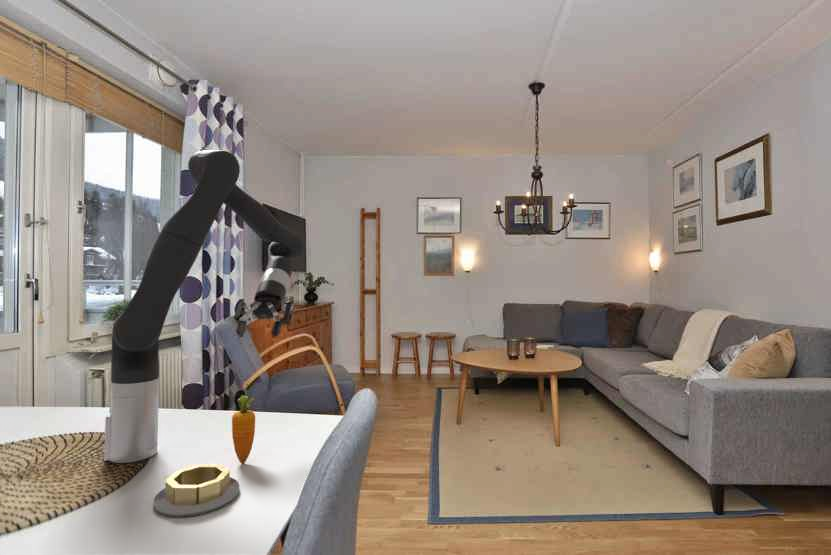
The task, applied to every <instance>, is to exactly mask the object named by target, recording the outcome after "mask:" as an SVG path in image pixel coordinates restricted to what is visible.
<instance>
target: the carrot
mask: <svg viewBox="0 0 831 555" xmlns="http://www.w3.org/2000/svg"><path fill="white" fill-rule="evenodd" d="M248 398H249V397H248V395H243V394H242V395H240V397H239V398H238V399H237V403H238V406H239V409H240V410H239V411H236V412H234V413H233V414H232V415H231V416H232V417H231V434H232V441H233V446H234V452H235V456H236V457H237V460H238V461H239V463H240V464H241V465H244V464H245V463H246V461H247V460H248V458H249V456H250V454H251V451H252V448H253V444H254V438H255V431H256V430H255V429H256V415H255V413H254V411H253V410H250V409H249V407H250V405H251V403H252V402H253V401H254V400H256V399H255V398H254V397H252V398H250V399H249V400H248ZM248 409H249V410H248Z"/></svg>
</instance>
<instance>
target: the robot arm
mask: <svg viewBox="0 0 831 555" xmlns="http://www.w3.org/2000/svg"><path fill="white" fill-rule="evenodd" d="M187 163H188V164H187V165H188V166H187V167H188V172H189V175H190V176H191V178H192V179H193V181H195V183H197V185H196V187H195V189H194V190H193V193H192V194H191V196H190V197H189V198H188V200H186V202H185V203H184V204H183V205H182V206H181V207H180V208H179V209H177V211H175V213H174V214H173V215H172V216H170V218H169V219H168V220H167V221H166V222H165V224H164V225H163V226H162V229H161V231H160V232H159V234H158V236H157V238H156V240H155V242H154V244H153V245H152V248H151V251H150V254H149V256H148V258H147V262H146V264H145V268H144V271H143V275H142V278H141V281H140V284H139V285H138V288H137V289H136V291H135V293H134V294H133V296H132V298H131V300H130V301H129V303H128V304H127V305H126V308H124V310H123V312H121V313H120V314H119V315H118V316H117V317H116V318H115V319H114V321H113V324H112V330H111V361H110V381H111V382H110V406H109V411H110V412H109V415H107V416H106V417H105V420H104V422H105V423H104V424H105V425H104V453H103V454H104V456H103V457H104V460H103V461H109V462H111V463H115V464H124V463H125V464H126V463H134V462H138V461H144V460H145V459H146V460H147V459H149V458H151V457H153V456H155V455H156V454H157V453H158V439H159V438H158V437H159V435H158V432H159V401H160V400H159V398H160V397H159V395H160V391H159V390H160V388H159V387H160V357H159V355H160V354H159V352H160V351H159V350H160V349H159V347H160V344H159V343H160V337H161V334H162V331H163V327H164V325H165V323H166V322H165V321H166V318H167V316H168V312H169V310H170V308H171V305H172V303H173V301H174V299H175V296H176V294H177V292H178V290H180V288H181V286H182V285H183V283H184V281H185V280H186V278H187V276H188V275H189V273H190V271H191V270H192V267H193V265H194V264H195V262H196V260H197V258H198V256H199V254H200V252H201V250H202V247H203V245H204V242H205V240H206V238H207V236H208V234H209V232H210V230H211V228H212V226H213V224H214V221H215V219H216V218H217V217H218V213H219V211H220V210H221V208H222V206H223V205H225V206H226V207H228V208H229V209H230V210H231V211H232V212H233V213H235V214H236V216H238V217H239V218H240V219H241V220H242V221H243V222H244V223H245V224H246V225H247V226H248V227H249V228H250V229H251V230H252V231H253V233H255V234H256V235H257V237H259V238H260V239H261V240H262V241H263V242H265V243H270V244H269V245H268V248H267V254H268V255H267V256H268V257H267V266H266V269H265V271H264V273H263V275H262V277H261V279H260V282H259V285H258V287H257V290H256V293H255V294H254V299H253V301H252V302H251V303H246V302H245V301H244V300H241V301H240V303H239V305H238V307H237V309H236V311H235V312H234V314H233V320H234V322H235V324H236V325H237V327H236V330H235V332H236V334H237V336H238V338H243V337H244V335H245V332H246V330H247V326H248V325H250V324H251V323H254V322H255V321H257V320H264V319H265V320H271V319H272V318H273V320H274V322H273V325H272V329H271V332H270V334H271V337H272V338H273V339H276V338H277V336H279V335H280V333H281V329H282V327H283V326H284V325H287V326H290V324H291V323H292V322H291V321H292V316H293V313H294V306H293V304H292V303H293V302H292V301H290V300H289V301H287V302H286V303H284V302H285V299H286V295H287V292H288V291H289V290H288V289H289V284H290V279H291V277H292V272H293V270H294V265H293V262H292V261H291V260H293V259H296V258H300V257H302V256H303V255H304V254H305V251H306V246H305V242H304V241H303V239H302V238H301V236H299V234H297V233H296V232H295V231H294V230H291V229H290V228H288V227H287V226H285V225H283V224H281V223H280V222H279V221H278V219H277V218H276V217H275V216H274V214H272V213H271V211H270V210H269V209H268V208H267V207H266V206H264V204H262V203H260V202H259V201H257V199H255V198H253V197H252V196H251V195H249V194H248V193H246V191H244V190H243V189H242V188H240V187H239V185H237V182H238V181H239V180H238V179H239V177H240V171H241V168H240V163H239V160H238V158H237V156H235V155H234V154H233V153H232V152H230V151H226V150H223V149H222V150H221V149H209V150H208V149H207V150H205V149H204V150H199V151H196V152H194V153H193V154H192V155H191V156H190V158H189V159H188V162H187ZM282 310H284V314H283V317H281V316H280V315H279V313H280V312H282Z"/></svg>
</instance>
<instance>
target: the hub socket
mask: <svg viewBox="0 0 831 555" xmlns="http://www.w3.org/2000/svg"><path fill="white" fill-rule="evenodd" d="M230 475H231V474H230V468H229V469H228V468H227V467H225V466H224V465H223V464H219V463H218V464H215V463H214V464H213V463H211V464H207V463H205V464H202V463H201V464H199V465H198V464H195V465H193V466H189V467H186V468H182V469H178V470H177V471H175V472H173V473H172V474H171V475H170V476H169V477H167V478H166V479H165V484H164V485H165V486H164V488H163V489H161V490H160V491H159V492H158V493H156V495H155V496H154V498H153V511H154V512H155V513H156V514H157V515H159V516H162V517H166V518H173V519H175V518H176V519H177V518H178V519H181V518H183V519H184V518H192V517H193V518H194V517H198V516H202V515H207V514H210V513H213V512H215V511H218V510H220V509H223V508H224V507H226V506H228V505H229V504H231V503H232V502H234V501H235V500H236V499H237V497H238V496H239V494H240V484H239V482H238V480H237V479H235V478H233V477H230Z"/></svg>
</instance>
